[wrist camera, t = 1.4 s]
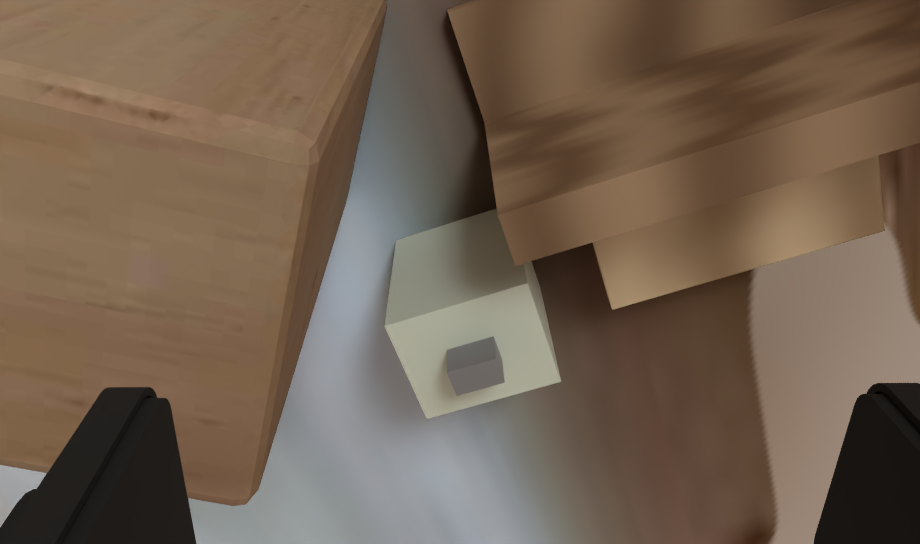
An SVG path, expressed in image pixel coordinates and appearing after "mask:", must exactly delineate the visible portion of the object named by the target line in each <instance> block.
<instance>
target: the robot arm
mask: <svg viewBox="0 0 920 544" xmlns="http://www.w3.org/2000/svg"><path fill="white" fill-rule="evenodd" d="M0 544H196V540H195V535H194V529H193V524H192V518H191V513H190V508H189V502H188V497H187V491H186V486H185V481H184V475H183V470H182V464H181V459H180V453H179V448H178V443H177V437H176V432H175V426H174V421H173V416H172V410H171V406H170V402H169V401H168V399H166V398H157V395H156V393H155V391H154V389H153V388H151V387H108V388H105V389H104V390H103V391H102V392H101V393H100V394H99V396H98V397H97V399H96V401H95V402H94V404H93V405H92V407H91V408H90V410H89V411H88V413H87V414H86V416H85V417H84V419H83V420H82V422H81V423H80V425H79V426H78V428H77V429H76V431H75V432H74V434H73V435H72V437H71V438H70V440H69V441H68V443H67V444H66V446H65V447H64V449H63V450H62V452H61V453H60V455H59V456H58V458H57V459H56V461H55V462H54V464H53V465H52V467H51V468H50V470H49V471H48V473H47V474H46V476H45V477H44V479H43V480H42V482H41V483H40V485H39V486H38V488H37V489H33V490H31V491H29V492H28V493H26V494H25V495H24V496H23V497H22V498H21V499H20V500H19V502H18V503H17V504H16V505H15V507H14V508H13V510H12V511H11V513H10V514H9V516H8V517H7V519H6V520H5V522H4V523H3V525H2V526H1V528H0ZM814 544H920V384H918V383H877V384H874V385H872V386H871V388H870V389H869V390H868V392H867V394H863V395H860V396H859V397H858V398H857V400H856V402H855V405H854V408H853V412H852V415H851V418H850V422H849V425H848V428H847V432H846V435H845V439H844V441H843V445H842V448H841V452H840V455H839V458H838V461H837V465H836V468H835V472H834V475H833V478H832V481H831V485H830V488H829V491H828V495H827V498H826V501H825V504H824V508H823V511H822V515H821V518H820V521H819V524H818V528H817V531H816V534H815V539H814Z"/></svg>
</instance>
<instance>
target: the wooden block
mask: <svg viewBox="0 0 920 544" xmlns="http://www.w3.org/2000/svg"><path fill="white" fill-rule="evenodd" d="M386 9H387V3H386V0H0V465H5V466H11V467H16V468H22V469H28V470H33V471H39V472H45V473H48V471H49V470H50V468H51V467H52V465H53V464H54V462H55V461H56V459H57V458H58V456H59V455H60V453H61V452H62V450H63V449H64V447H65V446H66V444H67V443H68V441H69V440H70V438H71V437H72V435H73V434H74V432H75V431H76V429H77V428H78V426H79V425H80V423H81V422H82V420H83V419H84V417H85V416H86V414H87V413H88V411H89V410H90V408H91V407H92V405H93V404H94V402H95V401H96V399H97V397H98V396H99V394H100V393H101V392H102V391H103V390H104V389H105V388H108V387H151V388H153V389H154V391H155V393H156V395H157V398H166V399H168V401H169V402H170V406H171V410H172V416H173V421H174V426H175V432H176V437H177V443H178V448H179V453H180V459H181V464H182V470H183V475H184V481H185V486H186V491H187V497H188V498H191V499H197V500H203V501H208V502H214V503H220V504H225V505H231V506H236V505H244V504H246V503H247V502H248V501H249V500H250V498H251V497H252V496H253V495H254V494H255V492H256V491H257V490H258V489H259V485H260V482H261V479H262V476H263V472H264V469H265V466H266V463H267V459H268V456H269V453H270V449H271V446H272V443H273V440H274V436H275V433H276V430H277V426H278V423H279V420H280V417H281V413H282V410H283V407H284V404H285V400H286V397H287V394H288V390H289V387H290V384H291V381H292V377H293V374H294V371H295V368H296V364H297V361H298V358H299V354H300V351H301V348H302V345H303V341H304V338H305V335H306V331H307V328H308V325H309V322H310V318H311V315H312V312H313V309H314V305H315V302H316V299H317V295H318V292H319V289H320V286H321V282H322V279H323V276H324V272H325V269H326V266H327V263H328V259H329V256H330V253H331V250H332V246H333V243H334V240H335V236H336V233H337V230H338V227H339V223H340V220H341V217H342V214H343V210H344V207H345V204H346V200H347V196H348V191H349V187H350V182H351V177H352V172H353V167H354V163H355V158H356V153H357V148H358V143H359V139H360V134H361V129H362V124H363V120H364V115H365V110H366V105H367V100H368V96H369V91H370V86H371V81H372V76H373V72H374V67H375V62H376V57H377V52H378V48H379V43H380V38H381V33H382V28H383V24H384V19H385V14H386Z"/></svg>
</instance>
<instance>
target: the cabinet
mask: <svg viewBox="0 0 920 544" xmlns="http://www.w3.org/2000/svg"><path fill="white" fill-rule="evenodd" d="M384 327H385V329H386V331H387V333H388V335H389V338H390V340H391V342H392V344H393V346H394V349H395V351H396V353H397V355H398V357H399V360H400V362H401V364H402V366H403V368H404V371H405V373H406V375H407V377H408V379H409V381H410V384H411V386H412V388H413V390H414V392H415V395H416V397H417V399H418V401H419V403H420V406H421V408H422V410H423V412H424V414H425V417H426V419H429V418H433V417H437V416H440V415H444V414H447V413H451V412H454V411H458V410H462V409H465V408H469V407H472V406H476V405H479V404H483V403H487V402H490V401H494V400H497V399H501V398H505V397H508V396H512V395H515V394H519V393H522V392H526V391H530V390H533V389H537V388H540V387H544V386H547V385H551V384H555V383H558V382H561V379H560V374H559V370H558V365H557V361H556V356H555V352H554V347H553V343H552V338H551V334H550V329H549V324H548V320H547V315H546V311H545V306H544V302H543V297H542V293H541V288H540V285H539V282H538V279H537V276H536V273H535V270H534V267H533V264H532V261H530V262H527V263H523V264H520V265H517V266H515V264H514V261H513V258H512V255H511V252H510V249H509V246H508V243H507V240H506V238H505V235H504V232H503V229H502V226H501V223H500V220H499V217H498V214H497V208H496V209H493V210H490V211H487V212H484V213H481V214H477V215H474V216H471V217H468V218H465V219H462V220H458V221H455V222H452V223H449V224H446V225H443V226H439V227H436V228H433V229H430V230H427V231H424V232H420V233H417V234H414V235H411V236H408V237H405V238H402V239H398V240H396V245H395V252H394V259H393V267H392V274H391V281H390V289H389V296H388V303H387V310H386V318H385V325H384Z"/></svg>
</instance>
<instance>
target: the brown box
mask: <svg viewBox="0 0 920 544" xmlns="http://www.w3.org/2000/svg"><path fill="white" fill-rule="evenodd" d="M448 15H449V18H450V21H451V24H452V27H453V30H454V33H455V36H456V39H457V42H458V45H459V48H460V51H461V54H462V57H463V60H464V63H465V66H466V69H467V72H468V75H469V78H470V81H471V84H472V87H473V90H474V93H475V96H476V99H477V102H478V105H479V108H480V111H481V114H482V117H483V120H484V123H485V130H486V137H487V144H488V151H489V158H490V165H491V172H492V179H493V186H494V193H495V200H496V207H497V214H498V217H499V220H500V223H501V226H502V229H503V232H504V235H505V238H506V240H507V243H508V246H509V249H510V252H511V255H512V258H513V261H514V264H515V266H517V265H520V264H523V263H527V262H530V261H533V260H536V259H540V258H543V257H546V256H550V255H553V254H556V253H559V252H563V251H566V250H569V249H573V248H576V247H579V246H582V245H586V244H589V243H592V244H593V247H594V251H595V254H596V258H597V261H598V265H599V268H600V272H601V275H602V279H603V282H604V286H605V289H606V293H607V296H608V299H609V302H610V305H611V308H612V310H613V309H617V308H620V307H624V306H627V305H631V304H634V303H638V302H641V301H644V300H648V299H651V298H655V297H658V296H662V295H665V294H669V293H672V292H675V291H679V290H682V289H686V288H689V287H693V286H696V285H700V284H703V283H706V282H710V281H713V280H717V279H720V278H724V277H727V276H731V275H734V274H737V273H741V272H744V271H748V270H751V269H755V268H758V267H761V266H765V265H768V264H772V263H775V262H779V261H782V260H785V259H789V258H792V257H796V256H799V255H803V254H806V253H810V252H813V251H817V250H820V249H823V248H827V247H830V246H834V245H837V244H841V243H844V242H847V241H851V240H854V239H858V238H861V237H865V236H868V235H871V234H875V233H879V232H882V231H884V230H885V229H884V217H883V205H882V193H881V181H880V169H879V157H878V155H882V154H885V153H888V152H891V151H895V150H898V149H901V148H905V147H908V146H911V145H914V144H918V143H920V0H472V1H469V2H466V3H464V4H461V5H458V6H455V7H453V8H450V9H448Z"/></svg>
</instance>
